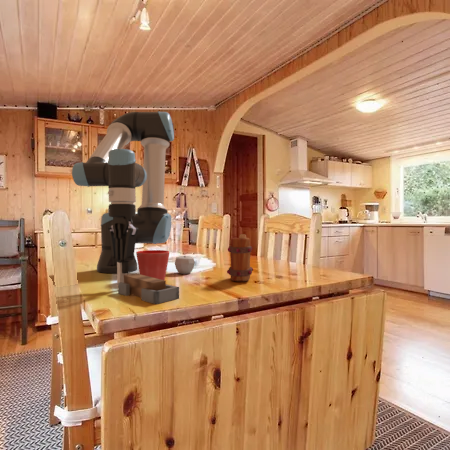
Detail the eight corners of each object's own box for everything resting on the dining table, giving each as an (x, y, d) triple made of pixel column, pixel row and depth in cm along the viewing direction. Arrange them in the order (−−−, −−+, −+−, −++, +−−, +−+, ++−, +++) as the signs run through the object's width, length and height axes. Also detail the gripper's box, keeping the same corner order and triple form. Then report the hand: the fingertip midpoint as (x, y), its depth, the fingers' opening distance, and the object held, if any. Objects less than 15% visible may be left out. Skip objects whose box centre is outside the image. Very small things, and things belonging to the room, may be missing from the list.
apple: (178, 275, 120) (178, 257, 120) (171, 272, 127) (170, 255, 126) (199, 273, 124) (198, 256, 124) (190, 270, 131) (190, 254, 130)
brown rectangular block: (123, 292, 95) (123, 275, 95) (136, 290, 98) (136, 273, 98) (152, 302, 85) (152, 282, 85) (165, 299, 88) (165, 280, 87)
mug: (250, 283, 106) (250, 236, 105) (225, 282, 107) (225, 236, 107) (255, 275, 120) (255, 233, 120) (233, 274, 122) (233, 233, 121)
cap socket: (141, 300, 86) (141, 288, 86) (164, 294, 92) (164, 283, 92) (155, 304, 82) (155, 292, 82) (179, 298, 88) (179, 287, 88)
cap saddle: (118, 293, 93) (118, 282, 93) (141, 288, 99) (141, 278, 99) (126, 295, 91) (126, 284, 91) (149, 290, 96) (149, 280, 96)
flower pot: (157, 276, 119) (157, 248, 119) (175, 280, 112) (175, 251, 111) (130, 280, 112) (130, 251, 112) (148, 285, 104) (147, 254, 104)
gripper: (98, 203, 99) (99, 283, 99) (122, 202, 90) (123, 289, 91) (121, 204, 104) (122, 279, 105) (146, 203, 96) (146, 285, 96)
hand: (122, 284), depth 98 cm, fingers closed
